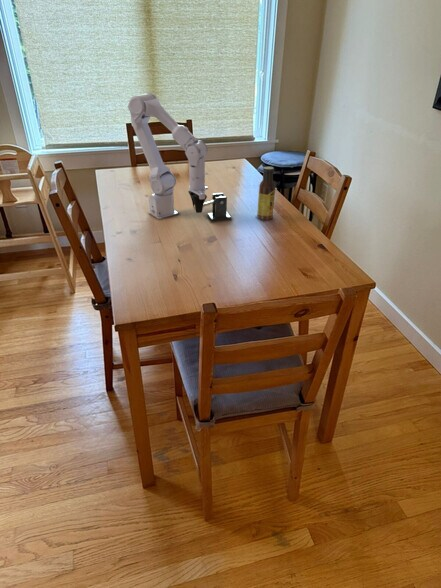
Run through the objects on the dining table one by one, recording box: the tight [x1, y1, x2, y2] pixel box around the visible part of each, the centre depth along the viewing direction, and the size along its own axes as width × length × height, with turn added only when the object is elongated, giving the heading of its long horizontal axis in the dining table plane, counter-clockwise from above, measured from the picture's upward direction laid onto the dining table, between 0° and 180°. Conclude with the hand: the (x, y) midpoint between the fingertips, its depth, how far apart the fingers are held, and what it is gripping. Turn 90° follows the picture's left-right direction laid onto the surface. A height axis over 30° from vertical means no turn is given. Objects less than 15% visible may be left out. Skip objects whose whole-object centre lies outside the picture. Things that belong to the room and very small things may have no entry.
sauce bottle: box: [257, 166, 276, 221], centre depth 157 cm, size 7×6×20 cm
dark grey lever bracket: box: [207, 192, 232, 223], centre depth 160 cm, size 8×6×9 cm
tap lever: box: [193, 195, 223, 210], centre depth 157 cm, size 12×3×3 cm, turn 107°
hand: (197, 210), depth 158 cm, fingers closed on tap lever, 3 cm apart
